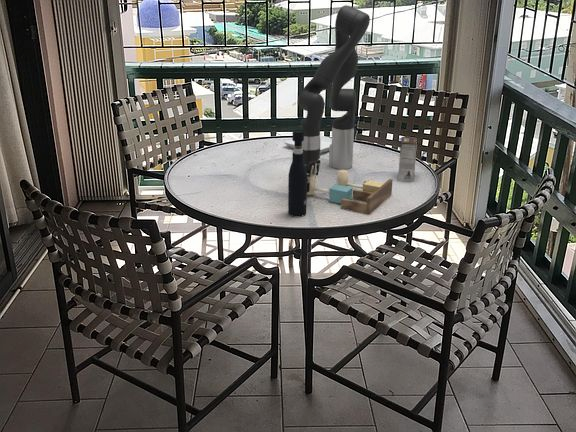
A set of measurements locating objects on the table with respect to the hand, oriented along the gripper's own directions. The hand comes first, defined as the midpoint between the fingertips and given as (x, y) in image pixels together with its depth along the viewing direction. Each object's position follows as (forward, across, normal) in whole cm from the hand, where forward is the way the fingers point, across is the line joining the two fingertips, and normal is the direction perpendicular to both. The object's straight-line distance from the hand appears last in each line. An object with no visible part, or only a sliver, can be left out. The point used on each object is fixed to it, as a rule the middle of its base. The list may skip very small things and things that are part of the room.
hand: (309, 189), depth 236 cm
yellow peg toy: (+2, -10, +16) cm, 19 cm away
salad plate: (+3, -56, -25) cm, 61 cm away
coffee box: (+2, -37, +26) cm, 45 cm away
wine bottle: (+2, +18, +4) cm, 18 cm away
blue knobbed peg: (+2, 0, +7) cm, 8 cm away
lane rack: (+2, -5, +22) cm, 22 cm away
